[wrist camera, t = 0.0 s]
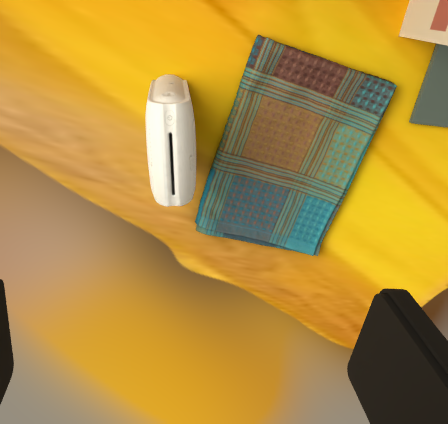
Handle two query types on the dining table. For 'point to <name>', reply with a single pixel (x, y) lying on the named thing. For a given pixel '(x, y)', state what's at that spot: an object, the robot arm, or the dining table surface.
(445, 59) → the mat
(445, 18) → the card box
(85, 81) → the dining table surface
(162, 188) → the photo printer
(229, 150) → the dish towel
